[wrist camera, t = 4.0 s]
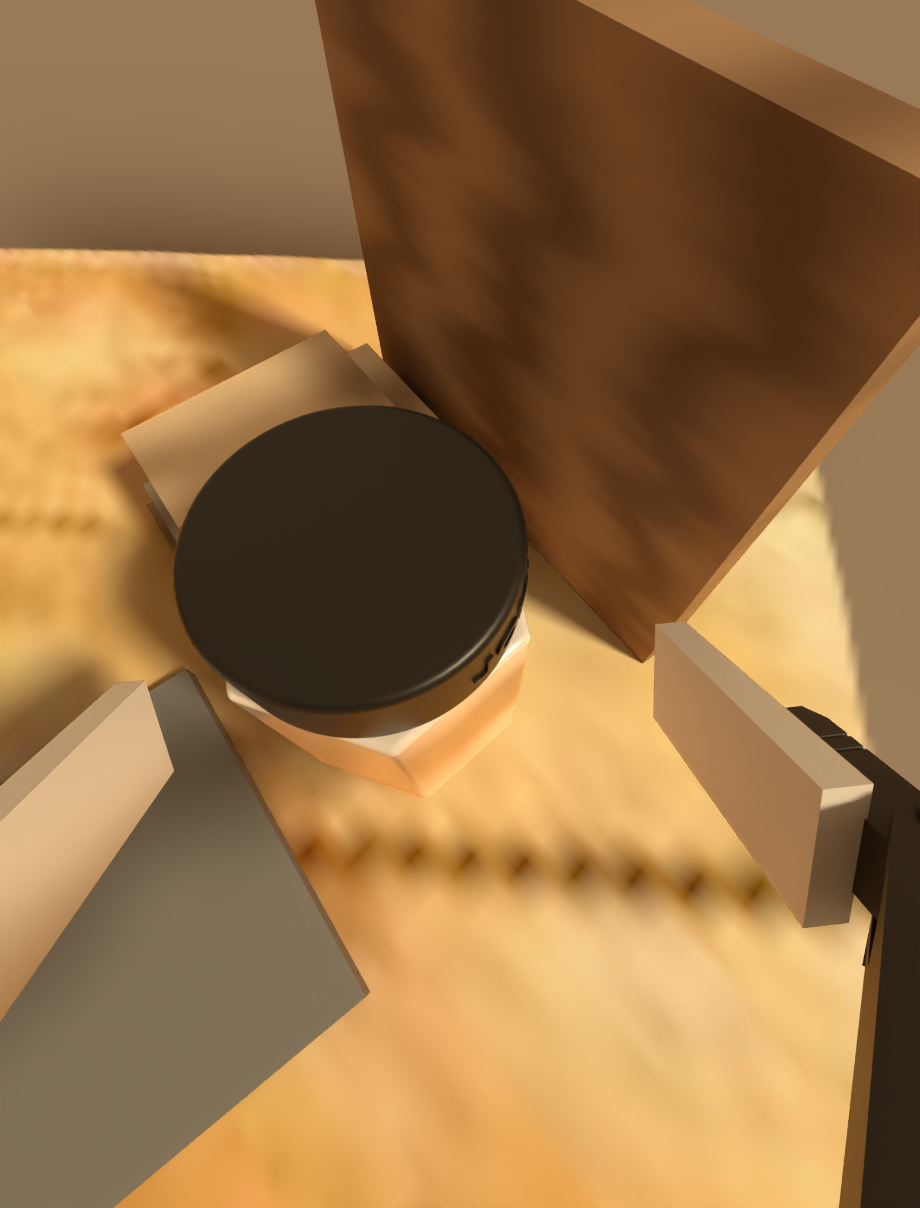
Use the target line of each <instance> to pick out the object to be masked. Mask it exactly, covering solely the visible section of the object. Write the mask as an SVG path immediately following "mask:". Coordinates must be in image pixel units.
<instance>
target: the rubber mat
mask: <svg viewBox="0 0 920 1208" xmlns="http://www.w3.org/2000/svg"><path fill="white" fill-rule="evenodd" d="M149 694H150V697H151V700H152V703H153V707H154V710H155V713H156V716H157V719H158V722H159V725H160V729H161V732H162V735H163V738H164V741H165V744H166V747H167V750H168V754H169V757H170V760H171V763H172V766H173V769H174V772H173V773H172V775H171V776H170V777H169V779H168V780H167V782H166V783H165V785H164V786H163V788H162V789H161V790H160V792H159V793H158V795H157V796H156V798H155V799H154V801H153V802H152V803H151V805H150V806H149V808H148V809H147V811H146V812H145V814H144V815H143V816H142V818H141V819H140V821H139V822H138V824H137V825H136V827H135V828H134V829H133V831H132V832H131V834H130V835H129V837H128V838H127V840H126V841H125V842H124V844H123V845H122V847H121V848H120V850H119V851H118V853H117V854H116V855H115V857H114V858H113V860H112V861H111V863H110V864H109V866H108V867H107V868H106V870H105V871H104V873H103V874H102V876H101V877H100V879H99V880H98V881H97V883H96V884H95V886H94V887H93V889H92V890H91V892H90V893H89V894H88V896H87V897H86V899H85V900H84V902H83V903H82V905H81V906H80V907H79V909H78V910H77V912H76V913H75V915H74V916H73V918H72V919H71V920H70V922H69V923H68V925H67V926H66V928H65V929H64V931H63V932H62V933H61V935H60V936H59V938H58V939H57V941H56V942H55V944H54V945H53V946H52V948H51V949H50V951H49V952H48V954H47V955H46V957H45V958H44V959H43V961H42V962H41V964H40V965H39V967H38V968H37V969H36V971H35V972H34V974H33V975H32V977H31V978H30V980H29V981H28V982H27V984H26V985H25V987H24V988H23V990H22V991H21V993H20V994H19V995H18V997H17V998H16V1000H15V1001H14V1003H13V1004H12V1006H11V1007H10V1008H9V1010H8V1011H7V1013H6V1014H5V1016H4V1017H3V1019H2V1020H1V1021H0V1208H113V1207H114V1206H116V1205H117V1204H118V1203H119V1202H120V1201H122V1200H123V1199H124V1198H125V1197H126V1196H128V1195H129V1194H130V1193H131V1192H132V1191H134V1190H135V1189H136V1188H137V1187H138V1186H140V1185H141V1184H142V1183H143V1182H144V1181H146V1180H147V1179H148V1178H149V1177H150V1176H152V1175H153V1174H154V1173H155V1172H156V1171H158V1170H159V1169H160V1168H161V1167H162V1166H164V1165H165V1164H166V1163H167V1162H168V1161H170V1160H171V1159H172V1158H173V1157H174V1156H176V1155H177V1154H178V1153H179V1152H180V1151H182V1150H183V1149H184V1148H185V1147H186V1146H188V1145H189V1144H190V1143H191V1142H192V1141H194V1140H195V1139H196V1138H197V1137H198V1136H199V1135H201V1134H202V1133H203V1132H204V1131H205V1130H207V1129H208V1128H209V1127H210V1126H211V1125H213V1124H214V1123H215V1122H216V1121H217V1120H219V1119H220V1118H221V1117H222V1116H223V1115H225V1114H226V1113H227V1112H228V1111H229V1110H231V1109H232V1108H233V1107H234V1106H235V1105H237V1104H238V1103H239V1102H240V1101H241V1100H243V1099H244V1098H245V1097H246V1096H247V1095H249V1094H250V1093H251V1092H252V1091H253V1090H255V1089H256V1088H257V1087H258V1086H259V1085H261V1084H262V1083H263V1082H264V1081H265V1080H267V1079H268V1078H269V1077H270V1076H271V1075H273V1074H274V1073H275V1072H276V1071H277V1070H279V1069H280V1068H281V1067H282V1066H283V1065H285V1064H286V1063H287V1062H288V1061H289V1060H291V1059H292V1058H293V1057H294V1056H295V1055H297V1054H298V1053H299V1052H300V1051H301V1050H303V1049H304V1048H305V1047H306V1046H307V1045H308V1044H310V1043H311V1042H312V1041H313V1040H314V1039H316V1038H317V1037H318V1036H319V1035H320V1034H322V1033H323V1032H324V1031H325V1030H326V1029H328V1028H329V1027H330V1026H331V1025H332V1024H334V1023H335V1022H336V1021H337V1020H338V1019H340V1018H341V1017H342V1016H343V1015H344V1014H346V1013H347V1012H348V1011H349V1010H350V1009H352V1008H353V1007H354V1006H355V1005H356V1004H358V1003H359V1002H360V1001H361V1000H362V999H364V998H365V997H366V996H367V995H368V994H369V992H370V991H369V989H368V987H367V985H366V983H365V982H364V980H363V978H362V976H361V974H360V973H359V971H358V969H357V967H356V965H355V964H354V962H353V960H352V958H351V956H350V955H349V953H348V951H347V949H346V947H345V946H344V944H343V942H342V940H341V938H340V937H339V935H338V933H337V931H336V929H335V928H334V926H333V924H332V922H331V920H330V918H329V917H328V915H327V913H326V911H325V909H324V908H323V906H322V904H321V902H320V900H319V899H318V897H317V895H316V893H315V891H314V890H313V888H312V886H311V884H310V882H309V881H308V879H307V877H306V875H305V873H304V872H303V870H302V868H301V866H300V864H299V863H298V861H297V859H296V857H295V855H294V853H293V852H292V850H291V848H290V846H289V844H288V843H287V841H286V839H285V837H284V835H283V834H282V832H281V830H280V828H279V826H278V825H277V823H276V821H275V819H274V817H273V816H272V814H271V812H270V810H269V808H268V807H267V805H266V803H265V801H264V799H263V798H262V796H261V794H260V792H259V790H258V788H257V787H256V785H255V783H254V781H253V779H252V778H251V776H250V774H249V772H248V770H247V769H246V767H245V765H244V763H243V761H242V760H241V758H240V756H239V754H238V752H237V751H236V749H235V747H234V745H233V743H232V742H231V740H230V738H229V736H228V734H227V733H226V731H225V729H224V727H223V725H222V723H221V722H220V720H219V718H218V716H217V714H216V713H215V711H214V709H213V707H212V705H211V704H210V702H209V700H208V698H207V696H206V695H205V693H204V691H203V689H202V687H201V686H200V684H199V682H198V680H197V678H196V677H195V675H194V674H193V673H191V672H190V671H188V670H187V669H184V670H182V671H181V672H179V673H178V674H176V675H174V676H173V677H171V678H170V679H168V680H167V681H165V682H163V683H162V684H160V685H159V686H157V687H155V688H154V689H152V690H151V691H149ZM5 782H6V781H5ZM2 784H3V783H2ZM2 784H0V786H1V785H2Z"/></svg>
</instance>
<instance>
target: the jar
mask: <svg viewBox="0 0 920 1208" xmlns="http://www.w3.org/2000/svg"><path fill="white" fill-rule="evenodd" d="M527 553H528V541H527V529H526V523H525V518H524V514H523V510H522V506H521V504H520V501H519V498H518V495H517V493H516V491H515V489H514V487H513V485H512V483H511V481H510V479H509V478H508V476H507V475H506V473H505V471H504V470H503V469H502V467H501V466H500V465H499V464H498V462H497V461H496V460H495V459H494V458H493V456H492V455H491V454H490V453H489V452H488V451H487V450H486V449H485V448H483V447H482V446H481V445H480V444H479V443H478V442H476V441H475V440H474V439H472V438H471V437H470V436H468V435H467V434H465V433H464V432H462V431H461V430H459V429H457V428H455V427H454V426H452V425H450V424H448V423H446V422H444V421H442V420H439V419H437V418H435V417H432V416H429V415H426V414H423V413H420V412H416V411H412V410H408V409H403V408H397V407H390V406H380V405H356V406H344V407H336V408H330V409H325V410H320V411H316V412H313V413H309V414H305V415H302V416H299V417H297V418H294V419H291V420H288V421H286V422H284V423H282V424H279V425H277V426H275V427H273V428H271V429H269V430H268V431H266V432H264V433H262V434H260V435H259V436H257V437H256V438H254V439H252V440H251V441H249V442H248V443H246V444H245V445H244V446H242V447H241V448H240V449H239V450H237V451H236V452H235V453H234V454H232V455H231V456H230V457H229V458H228V459H227V460H226V461H225V462H223V464H222V465H221V466H220V467H219V468H218V469H217V470H216V471H215V472H214V473H213V474H212V475H211V477H210V478H209V479H208V480H207V482H206V483H205V484H204V485H203V487H202V488H201V490H200V491H199V493H198V494H197V496H196V497H195V499H194V501H193V503H192V505H191V506H190V508H189V510H188V512H187V515H186V517H185V519H184V522H183V524H182V527H181V530H180V533H179V537H178V540H177V544H176V549H175V554H174V563H173V589H174V595H175V602H176V606H177V609H178V613H179V616H180V619H181V621H182V624H183V626H184V629H185V631H186V633H187V635H188V637H189V638H190V640H191V642H192V644H193V645H194V647H195V648H196V650H197V651H198V653H199V654H200V655H201V657H202V658H203V659H204V660H205V662H206V663H207V664H208V665H209V666H210V667H211V668H212V669H213V670H214V671H215V672H216V673H217V674H218V675H219V676H221V677H222V678H223V679H224V680H225V681H226V693H227V696H228V698H229V699H230V700H231V701H232V702H234V703H235V704H237V705H238V706H240V707H241V708H243V709H244V710H246V711H247V712H249V713H250V714H251V715H253V716H254V717H256V718H257V719H259V720H260V721H262V722H263V723H265V724H266V725H268V726H269V727H271V728H272V729H274V730H275V731H277V732H278V733H280V734H281V735H283V736H284V737H286V738H287V739H288V740H290V741H291V742H293V743H294V744H296V745H297V746H299V747H300V748H302V749H303V750H305V751H306V752H308V753H309V754H311V755H312V756H314V757H315V758H317V759H318V760H320V761H321V762H323V763H326V764H329V765H332V766H334V767H337V768H340V769H343V770H345V771H348V772H351V773H354V774H357V775H359V776H362V777H365V778H368V779H370V780H373V781H376V782H379V783H381V784H384V785H387V786H390V787H392V788H395V789H398V790H401V791H403V792H406V793H409V794H412V795H415V796H417V797H420V798H424V799H425V798H428V797H430V796H431V795H432V794H433V793H434V792H435V791H437V790H438V789H439V788H440V787H441V786H442V785H443V784H444V783H445V782H446V781H448V780H449V779H450V778H451V777H452V776H453V775H454V774H455V773H456V772H458V771H459V770H460V769H461V768H462V767H463V766H464V765H465V764H466V763H468V762H469V761H470V760H471V759H472V758H473V757H474V756H475V755H476V754H478V753H479V752H480V751H481V750H482V749H483V748H484V747H485V746H486V745H487V744H489V743H490V742H491V741H492V740H493V739H494V738H495V737H496V736H497V735H499V734H500V733H501V732H502V731H503V730H504V729H505V728H506V727H508V726H509V725H510V724H511V722H512V720H513V715H514V711H515V706H516V702H517V697H518V693H519V688H520V684H521V679H522V675H523V670H524V666H525V661H526V657H527V652H528V648H529V643H530V639H531V634H530V630H529V626H528V623H527V619H526V615H525V612H524V608H523V602H524V598H525V592H526V586H527V580H528V575H527V574H528V568H529V560H528V558H527Z"/></svg>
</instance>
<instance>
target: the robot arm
mask: <svg viewBox="0 0 920 1208" xmlns="http://www.w3.org/2000/svg"><path fill="white" fill-rule="evenodd" d="M653 717H654V719H655V720H656V722H657V723H658V725H659V726H660V727H661V729H662V730H663V732H664V733H665V734H666V736H667V737H668V739H669V740H670V741H671V743H672V744H673V746H674V747H675V749H676V750H677V751H678V753H679V754H680V756H681V757H682V758H683V760H684V761H685V763H686V764H687V765H688V767H689V768H690V770H691V771H692V773H693V774H694V775H695V777H696V778H697V780H698V781H699V782H700V784H701V785H702V787H703V788H704V789H705V791H706V792H707V794H708V795H709V796H710V798H711V799H712V801H713V802H714V804H715V805H716V806H717V808H718V809H719V811H720V812H721V813H722V815H723V816H724V818H725V819H726V820H727V822H728V823H729V825H730V826H731V828H732V829H733V830H734V832H735V833H736V835H737V836H738V837H739V839H740V840H741V842H742V843H743V844H744V846H745V847H746V849H747V850H748V851H749V853H750V854H751V856H752V857H753V859H754V860H755V861H756V863H757V864H758V866H759V867H760V868H761V870H762V871H763V873H764V874H765V875H766V877H767V878H768V880H769V881H770V883H771V884H772V885H773V887H774V888H775V890H776V891H777V892H778V894H779V895H780V897H781V898H782V899H783V901H784V902H785V904H786V905H787V906H788V908H789V909H790V911H791V912H792V914H793V915H794V916H795V918H796V919H797V921H798V922H799V923H800V925H801V926H802V928H809V927H817V926H826V925H834V924H843V923H849V919H850V913H851V907H852V902H853V896H854V894H855V896H856V897H857V898H858V899H859V900H860V901H861V903H862V904H863V905H864V906H865V907H866V908H867V909H868V911H869V912H870V913H871V914H872V918H871V923H870V929H869V934H868V939H867V944H866V949H865V954H864V959H863V964H862V965H863V966H865V973H864V982H863V991H862V1001H861V1010H860V1019H859V1028H858V1037H857V1047H856V1056H855V1065H854V1074H853V1083H852V1093H851V1102H850V1111H849V1120H848V1129H847V1139H846V1148H845V1157H844V1166H843V1175H842V1185H841V1194H840V1203H839V1208H920V791H919V790H918V789H916V788H915V787H914V786H913V785H911V784H910V783H909V782H908V781H906V780H905V779H904V778H903V777H901V776H900V775H899V774H898V773H896V772H895V771H894V770H893V769H891V768H890V767H889V766H888V765H886V764H885V763H884V762H883V761H881V760H880V759H879V758H877V757H876V756H875V755H874V754H872V753H871V752H870V751H869V750H867V749H863V746H862V745H861V744H860V743H859V742H857V741H856V740H855V739H854V738H852V737H851V736H847V733H846V732H845V731H843V730H842V729H841V728H840V727H838V726H837V725H836V724H835V723H833V722H832V721H831V720H830V719H828V718H827V717H824V716H822V715H820V714H818V713H816V712H813V711H811V710H809V709H807V708H805V707H803V706H797V707H789V708H785V707H784V706H783V705H782V704H780V703H779V702H778V701H777V700H776V699H775V698H773V697H772V696H771V695H770V694H769V693H768V692H766V691H765V690H764V689H763V688H762V687H761V686H759V685H758V684H757V683H756V682H755V681H754V680H752V679H751V678H750V677H749V676H748V675H747V674H746V673H744V672H743V671H742V670H741V669H740V668H739V667H737V666H736V665H735V664H734V663H733V662H732V661H730V660H729V659H728V658H727V657H726V656H725V655H723V654H722V653H721V652H720V651H719V650H718V649H716V648H715V647H714V646H713V645H712V644H711V643H709V642H708V641H707V640H706V639H705V638H704V637H703V636H701V635H700V634H699V633H698V632H697V631H696V630H694V629H693V628H692V627H691V626H690V625H689V624H687V623H686V622H685V621H682V622H672V623H663V624H655V663H654V710H653ZM173 772H174V769H173V766H172V763H171V760H170V757H169V754H168V750H167V747H166V744H165V741H164V738H163V735H162V732H161V729H160V725H159V722H158V719H157V716H156V713H155V710H154V707H153V703H152V700H151V697H150V694H149V691H148V688H147V685H146V681H145V680H143V681H134V682H125V683H116V684H114V685H113V686H112V687H111V688H109V689H108V690H107V691H106V692H105V693H104V694H103V695H102V696H101V697H99V698H98V699H97V700H96V701H95V702H94V703H93V704H92V705H90V706H89V707H88V708H87V709H86V710H85V711H84V712H83V713H82V714H80V715H79V716H78V717H77V718H76V719H75V720H74V721H73V722H71V723H70V724H69V725H68V726H67V727H66V728H65V729H64V730H63V731H61V732H60V733H59V734H58V735H57V736H56V737H55V738H54V739H52V740H51V741H50V742H49V743H48V744H47V745H46V746H45V747H44V748H42V749H41V750H40V751H39V752H38V753H37V754H36V755H35V756H33V757H32V758H31V759H30V760H29V761H28V762H27V763H26V764H25V765H23V766H22V767H21V768H20V769H19V770H18V771H17V772H16V773H14V774H13V775H12V776H11V777H10V778H9V779H8V780H7V781H6V782H4V783H3V784H2V785H1V786H0V1021H1V1020H2V1019H3V1017H4V1016H5V1014H6V1013H7V1011H8V1010H9V1008H10V1007H11V1006H12V1004H13V1003H14V1001H15V1000H16V998H17V997H18V995H19V994H20V993H21V991H22V990H23V988H24V987H25V985H26V984H27V982H28V981H29V980H30V978H31V977H32V975H33V974H34V972H35V971H36V969H37V968H38V967H39V965H40V964H41V962H42V961H43V959H44V958H45V957H46V955H47V954H48V952H49V951H50V949H51V948H52V946H53V945H54V944H55V942H56V941H57V939H58V938H59V936H60V935H61V933H62V932H63V931H64V929H65V928H66V926H67V925H68V923H69V922H70V920H71V919H72V918H73V916H74V915H75V913H76V912H77V910H78V909H79V907H80V906H81V905H82V903H83V902H84V900H85V899H86V897H87V896H88V894H89V893H90V892H91V890H92V889H93V887H94V886H95V884H96V883H97V881H98V880H99V879H100V877H101V876H102V874H103V873H104V871H105V870H106V868H107V867H108V866H109V864H110V863H111V861H112V860H113V858H114V857H115V855H116V854H117V853H118V851H119V850H120V848H121V847H122V845H123V844H124V842H125V841H126V840H127V838H128V837H129V835H130V834H131V832H132V831H133V829H134V828H135V827H136V825H137V824H138V822H139V821H140V819H141V818H142V816H143V815H144V814H145V812H146V811H147V809H148V808H149V806H150V805H151V803H152V802H153V801H154V799H155V798H156V796H157V795H158V793H159V792H160V790H161V789H162V788H163V786H164V785H165V783H166V782H167V780H168V779H169V777H170V776H171V775H172V773H173Z"/></svg>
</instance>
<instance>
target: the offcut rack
mask: <svg viewBox="0 0 920 1208" xmlns="http://www.w3.org/2000/svg"><path fill="white" fill-rule="evenodd" d="M315 3H316V8H317V13H318V19H319V23H320V29H321V35H322V40H323V45H324V50H325V56H326V61H327V66H328V72H329V77H330V82H331V87H332V93H333V98H334V103H335V108H336V114H337V119H338V125H339V130H340V135H341V140H342V146H343V150H344V156H345V162H346V166H347V172H348V177H349V182H350V188H351V193H352V198H353V204H354V209H355V214H356V220H357V225H358V230H359V236H360V241H361V246H362V251H363V257H364V262H365V267H366V273H367V278H368V283H369V288H370V294H371V299H372V304H373V310H374V315H375V320H376V325H377V331H378V336H379V341H380V347H381V352H382V357H383V360H382V359H381V358H380V357H379V355H378V354H377V353H376V352H375V351H374V350H373V349H372V348H371V347H370V346H369V345H368V344H367V343H366V344H364V345H362V346H360V347H358V348H356V349H354V350H353V351H351V352H349V353H346V352H345V351H344V350H343V349H342V348H341V347H340V346H339V344H338V343H337V342H336V341H335V340H334V339H333V338H332V337H331V336H330V335H329V334H328V332H327V331H326V330H324V331H322V332H320V333H318V334H316V335H314V336H312V337H310V338H308V339H306V340H304V341H302V342H300V343H298V344H296V345H294V346H292V347H290V348H288V349H286V350H284V351H282V352H280V353H278V354H276V355H274V356H272V357H271V358H269V359H267V360H265V361H263V362H261V363H259V364H257V365H255V366H253V367H251V368H249V369H247V370H245V371H243V372H241V373H239V374H237V375H235V376H233V377H231V378H229V379H227V380H225V381H223V382H221V383H219V384H217V385H215V386H214V387H212V388H210V389H208V390H206V391H204V392H202V393H200V394H198V395H196V396H194V397H192V398H190V399H188V400H186V401H184V402H182V403H180V404H178V405H176V406H174V407H172V408H170V409H168V410H166V411H164V412H162V413H160V414H158V415H157V416H155V417H153V418H151V419H149V420H147V421H145V422H143V423H141V424H139V425H137V426H135V427H133V428H131V429H129V430H127V431H125V432H123V433H121V435H122V437H123V438H124V440H125V442H126V443H127V445H128V446H129V448H130V450H131V451H132V453H133V455H134V456H135V458H136V459H137V461H138V463H139V464H140V466H141V468H142V469H143V471H144V472H145V474H146V476H147V477H148V479H149V481H148V482H146V483H144V484H143V487H144V489H145V490H146V492H147V494H148V495H149V497H150V499H151V500H152V503H150V504H148V505H147V506H148V508H149V510H150V511H151V513H152V515H153V516H154V518H155V520H156V521H157V523H158V525H159V527H160V528H161V530H162V532H163V533H164V535H165V537H166V538H167V540H168V542H169V543H170V545H171V547H172V548H173V550H174V552H175V549H176V544H177V540H178V537H179V533H180V530H181V527H182V524H183V522H184V519H185V517H186V515H187V512H188V510H189V508H190V506H191V505H192V503H193V501H194V499H195V497H196V496H197V494H198V493H199V491H200V490H201V488H202V487H203V485H204V484H205V483H206V482H207V480H208V479H209V478H210V477H211V475H212V474H213V473H214V472H215V471H216V470H217V469H218V468H219V467H220V466H221V465H222V464H223V462H225V461H226V460H227V459H228V458H229V457H230V456H231V455H232V454H234V453H235V452H236V451H237V450H239V449H240V448H241V447H242V446H244V445H245V444H246V443H248V442H249V441H251V440H252V439H254V438H256V437H257V436H259V435H260V434H262V433H264V432H266V431H268V430H269V429H271V428H273V427H275V426H277V425H279V424H282V423H284V422H286V421H288V420H291V419H294V418H297V417H299V416H302V415H305V414H309V413H313V412H316V411H320V410H325V409H330V408H336V407H344V406H356V405H380V406H390V407H397V408H403V409H408V410H412V411H416V412H420V413H423V414H426V415H429V416H432V417H435V418H437V419H439V420H442V421H444V422H446V423H448V424H450V425H452V426H454V427H455V428H457V429H459V430H461V431H462V432H464V433H465V434H467V435H468V436H470V437H471V438H472V439H474V440H475V441H476V442H478V443H479V444H480V445H481V446H482V447H483V448H485V449H486V450H487V451H488V452H489V453H490V454H491V455H492V456H493V458H494V459H495V460H496V461H497V462H498V464H499V465H500V466H501V467H502V469H503V470H504V471H505V473H506V475H507V476H508V478H509V479H510V481H511V483H512V485H513V487H514V489H515V491H516V493H517V495H518V498H519V501H520V504H521V506H522V510H523V514H524V518H525V523H526V529H527V539H528V540H529V541H530V542H531V543H532V544H533V545H534V547H535V548H536V549H537V550H538V551H539V552H540V553H541V554H542V555H543V556H544V557H545V558H546V559H547V561H548V562H549V563H550V564H551V565H552V566H553V567H554V568H555V569H556V570H557V571H558V572H559V573H560V575H561V576H562V577H563V578H564V579H565V580H566V581H567V582H568V583H569V584H570V585H571V586H572V587H573V589H574V590H575V591H576V592H577V593H578V594H579V595H580V596H581V597H582V598H583V599H584V600H585V601H586V603H587V604H588V605H589V606H590V607H591V608H592V609H593V610H594V611H595V612H596V613H597V614H598V615H599V617H600V618H601V619H602V620H603V621H604V622H605V623H606V624H607V625H608V626H609V627H610V628H611V629H612V631H613V632H614V633H615V634H616V635H617V636H618V637H619V638H620V639H621V640H622V641H623V642H624V643H625V645H626V646H627V647H628V648H629V649H630V650H631V651H632V652H633V653H634V654H635V655H636V656H637V657H638V659H639V660H640V661H641V662H642V663H644V662H645V661H646V660H648V659H649V658H650V657H651V656H653V655H654V654H655V624H663V623H672V622H682V621H685V622H687V621H688V619H689V618H690V617H691V616H692V615H693V614H694V612H695V611H696V610H697V609H698V608H699V606H700V605H701V604H702V603H703V602H704V600H705V599H706V598H707V597H708V596H709V595H710V593H711V592H712V591H713V590H714V589H715V587H716V586H717V585H718V584H719V583H720V581H721V580H722V579H723V578H724V577H725V575H726V574H727V573H728V572H729V571H730V570H731V568H732V567H733V566H734V565H735V564H736V562H737V561H738V560H739V559H740V558H741V556H742V555H743V554H744V553H745V552H746V550H747V549H748V548H749V547H750V546H751V545H752V543H753V542H754V541H755V540H756V539H757V537H758V536H759V535H760V534H761V533H762V531H763V530H764V529H765V528H766V527H767V525H768V524H769V523H770V522H771V521H772V520H773V518H774V517H775V516H776V515H777V514H778V512H779V511H780V510H781V509H782V508H783V506H784V505H785V504H786V503H787V502H788V501H789V499H790V498H791V497H792V496H793V495H794V493H795V492H796V491H797V490H798V489H799V487H800V486H801V485H802V484H803V483H804V481H805V480H806V479H807V478H808V477H809V476H810V474H811V473H812V472H813V471H814V470H815V468H816V467H817V466H818V465H819V464H820V462H821V461H822V460H823V459H824V458H825V456H826V455H827V454H828V453H829V452H830V450H831V449H832V448H833V447H834V445H836V443H837V442H838V441H839V440H840V439H841V437H842V436H843V435H844V434H845V433H846V431H847V430H848V429H849V428H850V427H851V426H852V424H853V423H854V422H855V421H856V420H857V418H858V417H859V416H860V415H861V414H862V412H863V411H864V410H865V409H866V408H867V406H868V405H869V404H870V403H871V402H872V401H873V399H874V398H875V397H876V396H877V394H878V393H879V392H880V391H881V390H882V389H883V387H884V386H885V385H886V384H887V383H888V381H889V380H890V379H891V378H892V377H893V376H894V374H895V373H896V372H897V371H898V369H899V368H900V367H901V366H902V365H903V364H904V362H905V361H906V360H907V359H908V358H909V357H910V355H911V354H912V353H913V352H914V351H915V349H916V348H917V347H918V346H919V345H920V109H918V108H915V107H914V106H911V105H909V104H907V103H905V102H903V101H901V100H899V99H897V98H894V97H892V96H890V95H888V94H886V93H884V92H882V91H879V90H877V89H875V88H873V87H871V86H869V85H867V84H865V83H862V82H860V81H858V80H856V79H854V78H852V77H850V76H848V75H845V74H843V73H841V72H839V71H837V70H835V69H833V68H830V67H828V66H826V65H824V64H822V63H819V62H818V61H816V60H813V59H811V58H809V57H807V56H805V55H803V54H801V53H799V52H796V51H794V50H792V49H790V48H788V47H786V46H784V45H781V44H779V43H777V42H775V41H773V40H771V39H769V38H767V37H764V36H762V35H760V34H758V33H756V32H754V31H751V30H750V29H747V28H745V27H743V26H741V25H739V24H736V23H735V22H732V21H730V20H728V19H726V18H724V17H722V16H720V15H717V14H715V13H713V12H711V11H709V10H707V9H705V8H702V7H701V6H698V5H696V4H694V3H692V2H690V1H687V0H315Z"/></svg>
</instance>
